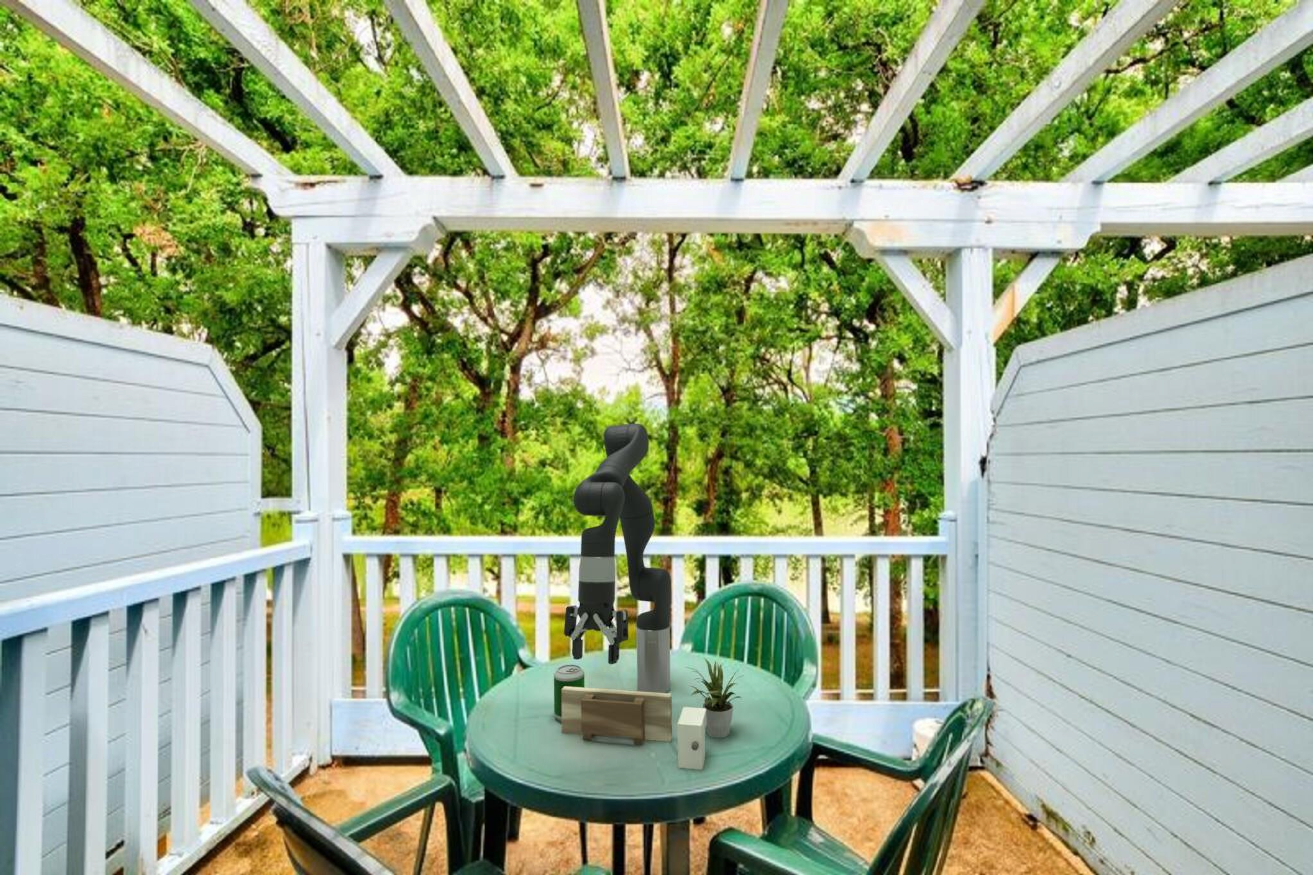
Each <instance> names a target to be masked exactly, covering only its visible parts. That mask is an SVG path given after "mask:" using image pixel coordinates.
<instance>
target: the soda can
mask: <svg viewBox="0 0 1313 875" xmlns="http://www.w3.org/2000/svg"><path fill="white" fill-rule="evenodd" d="M564 686H568V687H582V688H586V687H585V686H586V685H585V670H584V669H583V668H582V666H580V665H577V664H564V665H561V666H558V668H556V670H555V672H554V673H553V706H554V707H553V708H554V709H553V712H554V713H553V714H554V717H555V718H556V719H557V720H558V721H559V722H561V723H562V691H561V690H562V688H563V687H564Z"/></svg>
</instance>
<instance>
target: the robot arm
mask: <svg viewBox="0 0 1313 875" xmlns="http://www.w3.org/2000/svg"><path fill="white" fill-rule="evenodd" d="M649 440H650V438H649V433H648V430H647V428H646V427H645V425H643V424H641V423H627V424H617V425H609V426H607V427H605V429H604V432H603V444H604V449H605V455H606V458H604V459H603V460H602V461H601V462H600V464H599V465H598V467H597V469H596V470H595V472H594V473H592V474H590V475H589V476H587V477H586V478H584V479H583V480H582V481H581V482H580V483H579V484H578V485H577V487H576V489H575V490H574V494H573V496H572V497H573V498H572V500H573V506H574V509H575V510H576V511H577V513H578V514H580V515H583V516H586V517H587V516H592V517H593V516H594V517H597V516H599V517H604V520H602V522H601V524H599V525H596V526H591V527H587V528H584V529H583V530H582V532H581V538H580V539H581V540H580V542H581V543H580V561H579V567H578V587H577V588H578V589H577V590H578V593H577V595H578V596H577V601H578V603H579V606H578V605H569V606H566V608H565V618H564V625H563V626H564V628H563V635H564V636H565V637H568V638H570V639H571V641H572V643H571V647H572V648H571V656H572V658H573V660H576V661H577V660H581V659H582V658H583V655H584V654H583V651H584V649H583V648H584V639H582V638H583V636H584V635H585V633H587V631H592V630H593V631H596V632H601V633H602V635H603V636H605V637H606V640H607V641H608V651H607V652H608V653H607V654H608V655H607V657H608V658H607V663H608V664H609V665H614V664H617V662H618V661H619V659H620V645H621V643H622V642H623V643H624V642H626V641H628V640H629V617H628V616H629V615H628V614H629V612H628V610H627V609H622V610H620V609H619V610H615V607H614V604H615V600H616V560H615V556H616V555H615V554H616V549H615V547H616V534H617V529H618V524H619V521H620V526H621V532H622V536H623V541H624V546H625V548H624V549H625V553H626V561H627V562H626V563H627V574H628V575H627V576H628V583H629V584H628V586H629V590H630V593H631V596H632V597H633V599H634V600H636V601H640V602H647V603H648V602H650V603H653V604H654V606H653V609H651V610H648V611H645V612H642V613H640V614H638V615H637V616H636V621H635V623H636V667H637V668H636V678H637V680H636V683H637V686H636V688H637V691H640V692H654V693H668V692H669V691H670V690H671V635H670V632H671V631H670V630H671V629H670V624H671V622H670V621H671V620H670V619H671V604H672V603H671V602H672V600H671V596H672V579H671V577H672V576H671V574H670V572H669V570H668V569H665V568H660V567H659V568H658V567H647V566H646V565H645V560H644V553H645V550H646V547H647V545H648V543H649V541H650V539H651V538H652V536H653V533H654V531H655V527H656V520H655V515H654V509H653V504H652V501H651V499H650V497H649V496H648V494H647V493H646V492H645V491H644V490H643V489H642V487H641V486H640V485H639V484H638V483H637V482H636V481H635V480H634V479H633V477H632V476H631V475H630V474H631V473H632V471H633V470H634V469H635V468H636V467H638V465H639V464H640V463H641V462H642V461H643V459H644V458H645V457H646V456H647V454H648V452H649V447H650V446H649V445H650V442H649ZM578 617H579V621H578V623H577V619H578ZM613 620H614V621H615V623H616V624H614V622H613Z"/></svg>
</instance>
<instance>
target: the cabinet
mask: <svg viewBox="0 0 1313 875" xmlns="http://www.w3.org/2000/svg"><path fill="white" fill-rule="evenodd" d="M678 718H679V719H678V721H677V723H676V724H677V725H676V726H677V768H680V769H689V770H700V771H703V767H704V763H705V759H706V744H705V743H706V742H705V741H706V737H705V736H706V732H705V731H706V729H705V727H706V708H703V707H691V706H683V707H682V711H681V713H680V716H679V717H678ZM706 728H707V727H706Z"/></svg>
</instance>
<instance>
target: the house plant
mask: <svg viewBox="0 0 1313 875" xmlns="http://www.w3.org/2000/svg"><path fill="white" fill-rule="evenodd" d="M703 659H704V660H705V662H706V665H707V671H708V675H709V677H710V680H711V681H709V682H708V681H707V680H706V679H705V678H704V676H703V675H702V674H701V673H700V672H699V671H698V670H697V669H696V668H692V667H689V669H692V670H693V672H695V673H697V674H699V676H700V677H701V678H700V677H698V678H694V679H693V680H698V681H697V683H699V682H702V683H703V684H704V686H705V687H706V689H707V691H708V692H706V691H703V690H699V689H698V688H697V687H695V686H693V685H690V687H691V688H694V689H695V690H694V691H693V692H692V693H691V696H693V695H697V694H700V695H701V696H702V697H703V698H704V703H703V704H702V708H706V731H707V734H708V736H710V737H712V738H716V739H717V738H718V739H721V738H722V739H723V738H726V737H728V736H729V735H730V732H731V727H732V726H731V724H732V719H733V718H732V716H733V710H734V706H733V703H732V702H731V701H733V700H734V699H736V698H737V699H738V698H739V699H741V700H743V699H742V697H741V696H739V695H738V696H734V697H733V698H731V699H729V698H730V697H732V695H736V693H735V692H733V691H729V690H730V688H732V687H733V686H734V685H735V684H736V685H738V683H734V682H735V681H736V680H737V679H739V678H741V677H743V675H740V676H738V677H737V678H736V679H734V680H733V678H734V677H735V676H736V673H737V672H738V670H736V671H735V672H734V674H732V677H731V678H730V680H729V681H728V682H727V684H726V686H725V689H724V687H723V684H724V670H723V668H722V665H723V664H720V663H718V662H717V661H716V660H715V662H714V663H713V668H712V665H711V663H710V662H709V660H708V659H707V658H705V657H704V658H703ZM719 664H720V665H719ZM684 668H687V669H688V666H687V667H684ZM732 680H733V682H731V681H732ZM723 690H724V691H723ZM703 693H704V694H703Z"/></svg>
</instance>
